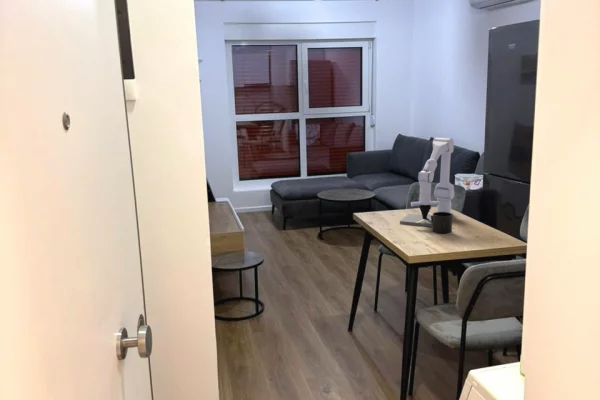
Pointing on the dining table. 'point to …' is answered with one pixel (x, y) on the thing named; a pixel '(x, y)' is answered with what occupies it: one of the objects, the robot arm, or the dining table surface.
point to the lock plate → (416, 220)
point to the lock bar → (430, 216)
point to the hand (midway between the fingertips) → (424, 219)
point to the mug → (442, 222)
